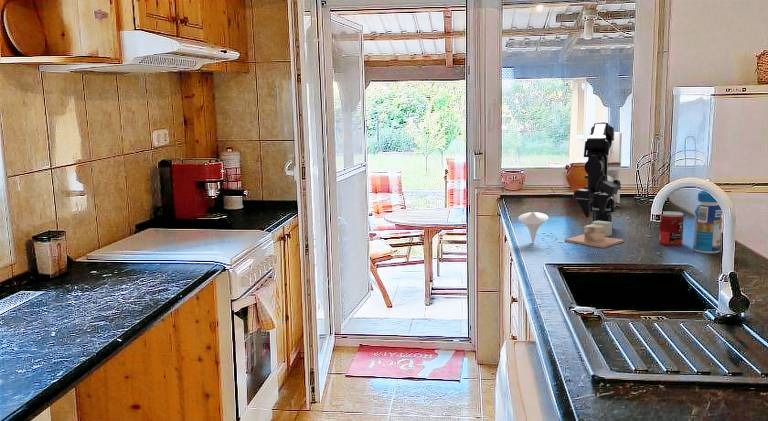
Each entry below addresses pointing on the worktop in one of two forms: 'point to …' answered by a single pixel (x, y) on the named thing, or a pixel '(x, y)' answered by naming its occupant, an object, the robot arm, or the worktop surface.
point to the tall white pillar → (615, 163)
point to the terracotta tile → (602, 243)
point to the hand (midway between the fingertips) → (594, 215)
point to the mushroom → (533, 222)
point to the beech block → (594, 232)
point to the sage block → (607, 226)
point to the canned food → (671, 228)
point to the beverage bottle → (707, 224)
